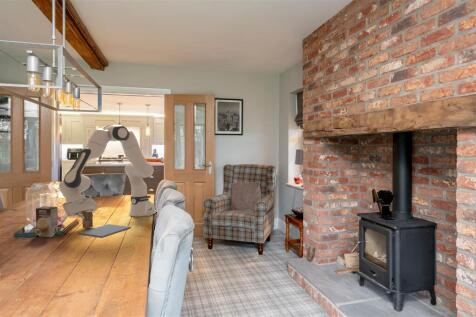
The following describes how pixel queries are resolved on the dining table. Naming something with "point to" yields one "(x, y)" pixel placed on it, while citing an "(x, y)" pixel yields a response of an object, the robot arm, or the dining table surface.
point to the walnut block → (87, 219)
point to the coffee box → (46, 221)
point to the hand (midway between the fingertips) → (88, 217)
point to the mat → (104, 230)
